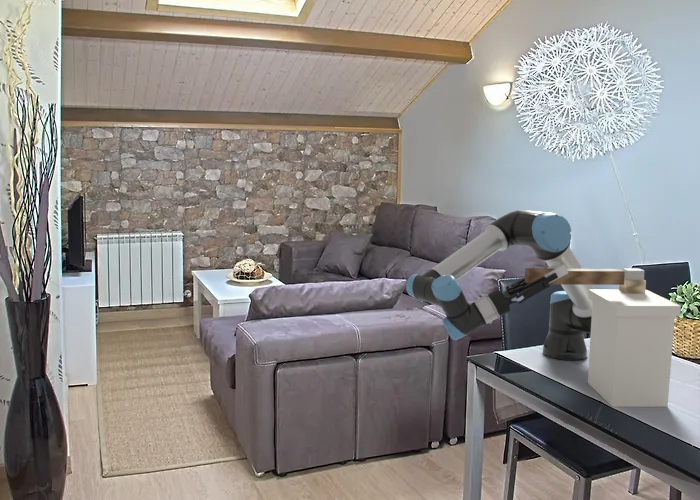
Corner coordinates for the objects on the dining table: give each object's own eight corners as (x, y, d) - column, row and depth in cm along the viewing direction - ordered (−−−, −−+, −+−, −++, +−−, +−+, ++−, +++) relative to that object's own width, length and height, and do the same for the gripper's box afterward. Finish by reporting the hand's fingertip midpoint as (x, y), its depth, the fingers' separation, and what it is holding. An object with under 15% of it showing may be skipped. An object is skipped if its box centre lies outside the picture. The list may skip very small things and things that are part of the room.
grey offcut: (627, 280, 205) (628, 270, 205) (622, 277, 209) (622, 268, 209) (643, 280, 205) (644, 270, 205) (638, 277, 209) (638, 268, 209)
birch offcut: (625, 293, 205) (626, 280, 205) (618, 290, 210) (619, 277, 210) (645, 293, 205) (646, 280, 205) (638, 290, 210) (639, 277, 210)
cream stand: (610, 408, 194) (616, 305, 189) (583, 381, 216) (588, 289, 211) (672, 408, 194) (680, 306, 190) (639, 381, 216) (646, 289, 211)
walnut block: (528, 284, 197) (528, 270, 197) (524, 281, 201) (525, 268, 201) (623, 284, 198) (624, 271, 197) (618, 282, 202) (619, 268, 201)
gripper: (492, 309, 209) (560, 273, 208) (505, 324, 192) (579, 284, 191) (481, 289, 208) (548, 251, 207) (493, 301, 191) (567, 261, 190)
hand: (563, 267), depth 199 cm, fingers closed on walnut block, 4 cm apart
